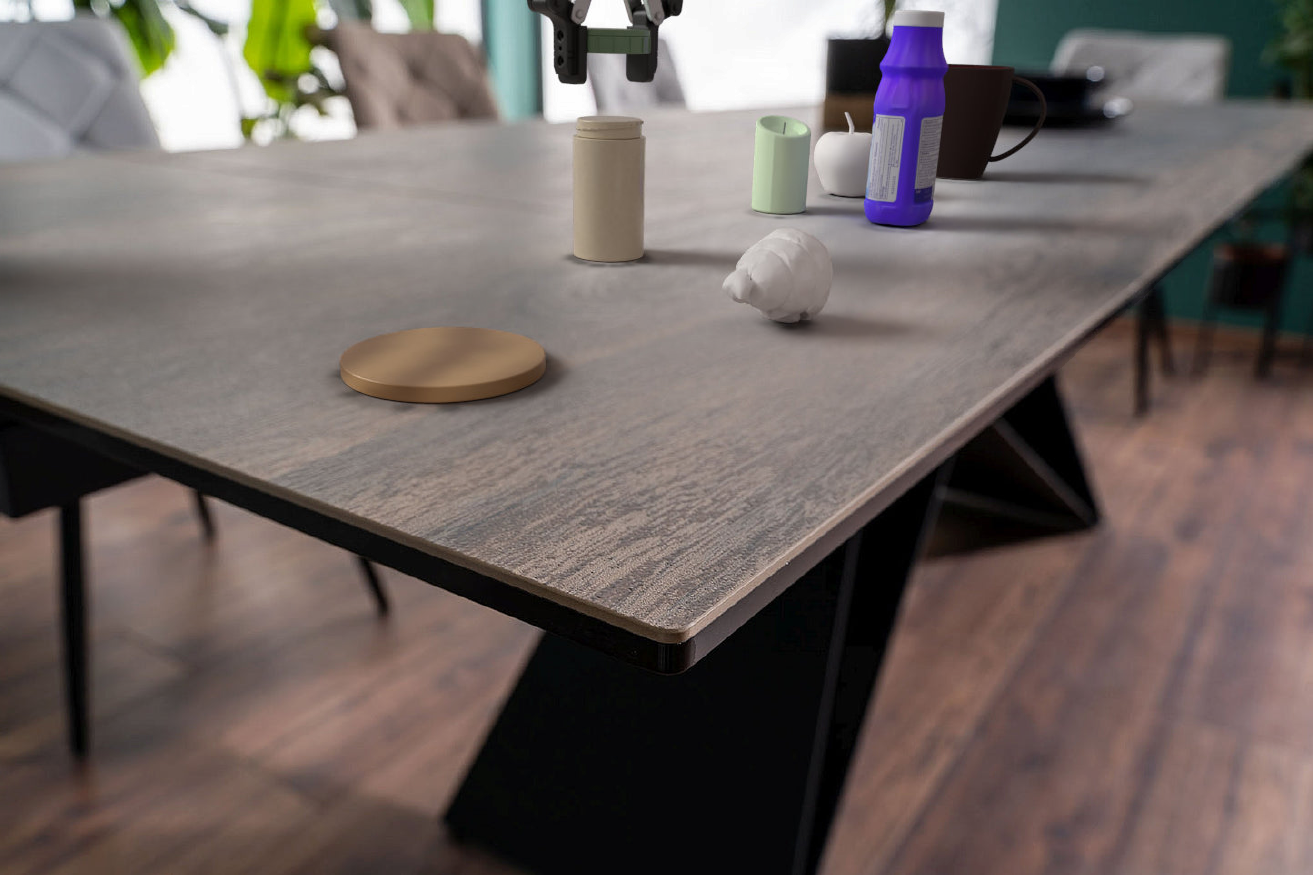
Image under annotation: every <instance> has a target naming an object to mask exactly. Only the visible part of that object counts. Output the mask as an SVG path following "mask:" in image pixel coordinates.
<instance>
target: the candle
mask: <svg viewBox="0 0 1313 875" xmlns="http://www.w3.org/2000/svg"><path fill="white" fill-rule="evenodd" d="M811 141H812V131H811V128H810V127H809V126H808V124H806V123H805V122H804V121H803V122H802V121H800V120H798V119H796V118H792V117H788V116H785V115H779V114H778V115H777V114H776V115H774V114H769V115H763V116H760V117H758V118H757V120H756V121H755V135H754V154H753V170H752V171H753V172H752V190H751V205H750V206H751V209H752V210H754V211H756V212H759V213H763V214H772V215H773V214H774V215H795V214H800V213H803V212H804V211H806V208H807V196H808V184H809V183H808V181H809V180H808V179H809V168H810V156H811V155H810V154H811Z"/></svg>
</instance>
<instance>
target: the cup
mask: <svg viewBox="0 0 1313 875" xmlns="http://www.w3.org/2000/svg"><path fill="white" fill-rule="evenodd" d="M947 64H948V66H949V67H948V71H947V72H946V74H945V75H944V77H943V84H944V91H945V110H944V113H943V120H942V128H941V137H940V145H939V154H938V162H937V171H936V179H947V180H948V179H949V180H964V181H965V180H966V181H975V180H978V179H981V178H982V177H983V175H984V173H985V171H986V169H987V166H988V165H989V163H997V162H1000V161H1003V160H1005V159H1007V158H1009V157H1011V156H1012V155H1014V154H1016V153H1017V152H1019V151H1020V150H1021V149H1023V148H1024V147H1026V146H1027V145H1028V144H1029V143H1030V142H1031V141H1032V140H1033V139H1034V138H1035V137H1036V136H1037V134H1038V133H1039V131H1040V130H1041V128H1042V126H1043V124H1044V123H1045V120H1046V116H1047V102H1046V98H1045V95H1044V93H1043V92H1042V90H1041V89H1040V88H1039V87H1038V86H1037V85H1035V83H1033V82H1032V81H1030V80H1028V79H1027V78H1026V79H1025V78H1024V77H1019V76H1015V72H1016V71H1015V70H1016V69H1015V67H1013V66H1006V65H991V64H969V63H968V64H966V63H947ZM1013 83H1015V84H1019V85H1022V86H1025V87H1026V88H1028V89H1029V90H1030V91H1032V92H1033V93H1034V94H1035V95H1036V96H1037V99H1038V101H1039V104H1040V116H1039V119H1038V121H1037V123H1036V125H1035V127H1034V128H1033V129H1032V131H1031V132H1030V133H1029V134H1028V135H1027V136H1026V137H1025V138H1024V139H1023V140H1021V142H1019V143H1018V144H1016V145H1015V146H1013V147H1012V148H1010V149H1008V150H1007V151H1005V152H1003V153H1000V154H997V155H994V156H993V152H994V150H995V147H996V144H997V141H998V138H999V134H1000V132H1001V129H1002V125H1003V122H1004V118H1005V115H1006V112H1007V109H1008V105H1009V100H1010V98H1011V93H1012V88H1013Z"/></svg>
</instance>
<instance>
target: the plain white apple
mask: <svg viewBox="0 0 1313 875" xmlns="http://www.w3.org/2000/svg"><path fill="white" fill-rule="evenodd" d="M844 115H845V117H846V120H847V123H848V126H849V130H848V132H846V131H829V132H825V133H824V134H823V135H822V136H821V137H820V138H819V139H818V141H817V142H816V145H815V147H814V151H813V162H814V167H815V169H816V172H817V175H818V178H819V180H820V183H821V186H822V189H823V190H824V191H825V192H826V193H827V194H829V195H832V194H833V195H835V196H842V197H843V196H844V197H852V198H854V197H866V187H867V178H868V169H869V159H870V149H871V140H872V133H869V132H856V131H855V125H854V122H853V120H852V117H851V115H850V113H849V112H848V111H845V112H844Z"/></svg>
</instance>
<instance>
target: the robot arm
mask: <svg viewBox="0 0 1313 875" xmlns="http://www.w3.org/2000/svg"><path fill="white" fill-rule="evenodd" d="M591 3H592V0H526V5H527V7H528V10H530V12H533V13H539V14H540V15H543V16H545V17H547V18H549V20H550V22H551V23H552V27H553V69H554V72H555V74H556V75H557V79H558V81H559V83H560V84H564V85H565V84H566V85H573V86H574V85H584V84H586V82H587V81H588V53H587V28H588V25H582V24H583V23H584V22H585V21H586V18H587V16H588V13H589V10H590V8H591V7H590V6H591ZM623 4H624V7H625V10H626V15H627V18H628V21H629V23H630V24H631V25H626V29H645V30H650V37H651V49H650V53H648V54H625V78H626V79H627V81H628V82H629V83H630V82H631V83H640V84H641V83H642V84H643V83H645V84H646V83H647V84H648V83H653V81H654V79H655V74H656V73H657V70H658V64H659V63H658V60H659V59H658V57H659V52H658V51H659V30H660V29H659V28H660V26H661V25H662V24H663V23H664V21H665V20H667V19H669V18H670V17H678V16H680V15H681V14H682V12H683V5H684V0H623Z"/></svg>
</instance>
